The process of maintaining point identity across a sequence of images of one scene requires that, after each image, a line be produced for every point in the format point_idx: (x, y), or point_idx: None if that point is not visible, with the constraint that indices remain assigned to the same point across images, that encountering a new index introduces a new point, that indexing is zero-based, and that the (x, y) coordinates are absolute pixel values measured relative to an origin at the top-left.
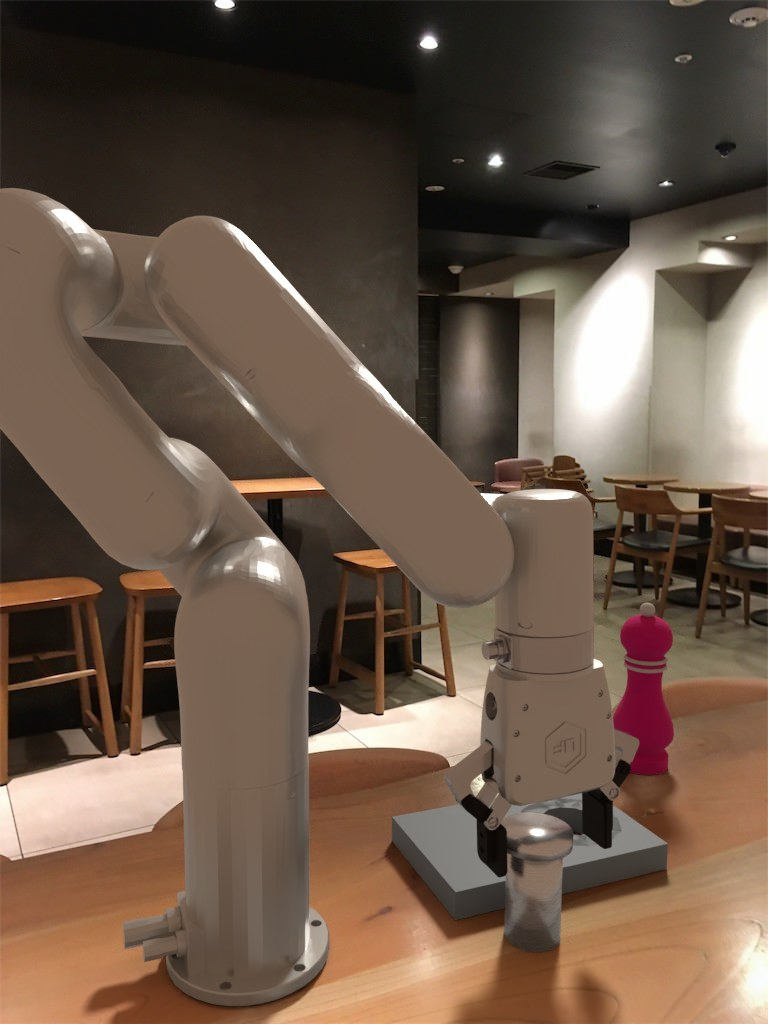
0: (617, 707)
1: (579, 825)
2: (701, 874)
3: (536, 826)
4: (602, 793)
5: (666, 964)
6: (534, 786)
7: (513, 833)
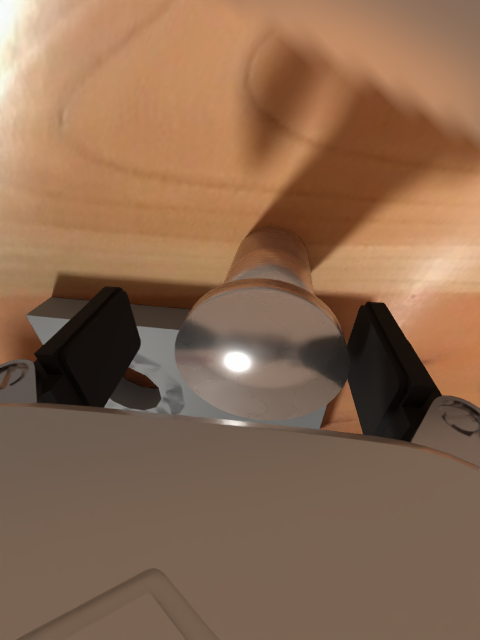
0: None
1: (119, 383)
2: (12, 273)
3: (246, 376)
4: (45, 389)
5: (127, 124)
6: (412, 552)
7: (312, 378)
